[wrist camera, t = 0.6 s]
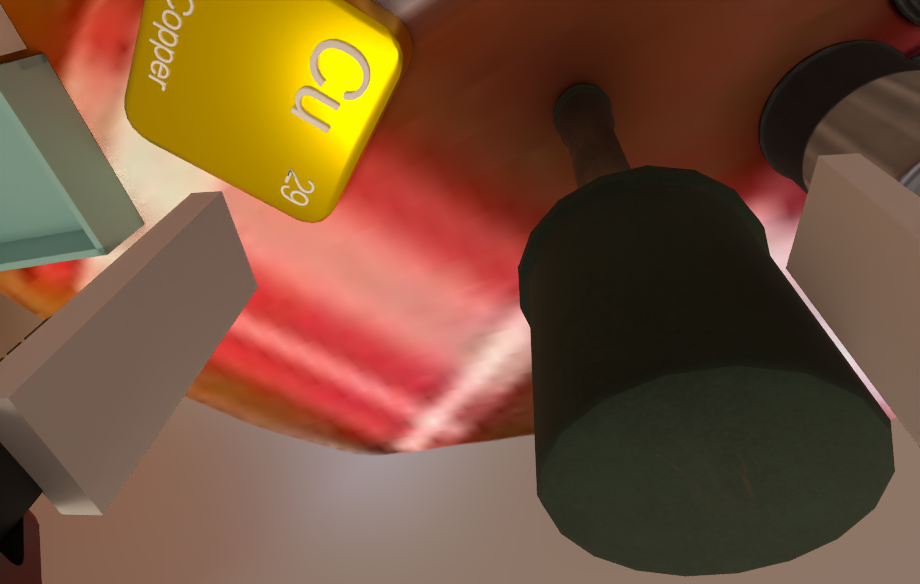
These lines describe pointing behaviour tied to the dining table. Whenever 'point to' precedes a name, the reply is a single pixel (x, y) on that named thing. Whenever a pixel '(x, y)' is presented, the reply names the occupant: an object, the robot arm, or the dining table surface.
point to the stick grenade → (684, 374)
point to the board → (9, 36)
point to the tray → (53, 175)
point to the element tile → (268, 91)
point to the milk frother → (848, 110)
